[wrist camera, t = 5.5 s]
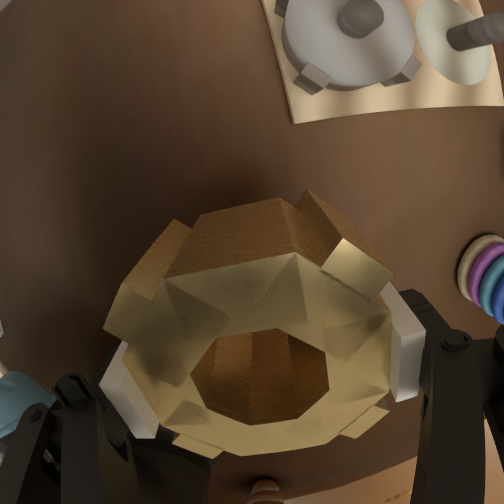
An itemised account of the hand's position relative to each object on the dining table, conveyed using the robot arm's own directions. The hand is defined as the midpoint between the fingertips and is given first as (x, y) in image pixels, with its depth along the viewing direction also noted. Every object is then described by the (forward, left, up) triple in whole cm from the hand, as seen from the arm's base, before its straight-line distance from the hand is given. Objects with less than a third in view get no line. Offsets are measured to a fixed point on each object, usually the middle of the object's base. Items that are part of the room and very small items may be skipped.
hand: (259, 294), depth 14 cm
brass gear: (0, 0, 0) cm, 0 cm away
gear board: (+15, +13, -15) cm, 25 cm away
